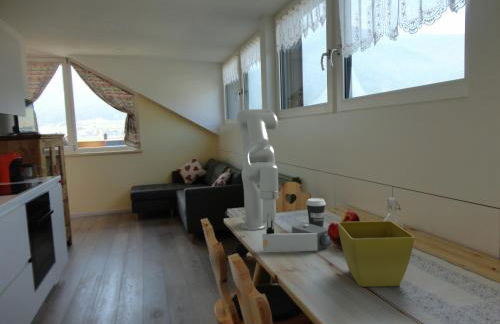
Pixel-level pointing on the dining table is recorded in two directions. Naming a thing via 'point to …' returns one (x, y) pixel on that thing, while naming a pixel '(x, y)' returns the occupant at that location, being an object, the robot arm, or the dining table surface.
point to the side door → (290, 242)
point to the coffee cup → (316, 211)
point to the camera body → (322, 232)
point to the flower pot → (376, 251)
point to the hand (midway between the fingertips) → (270, 237)
